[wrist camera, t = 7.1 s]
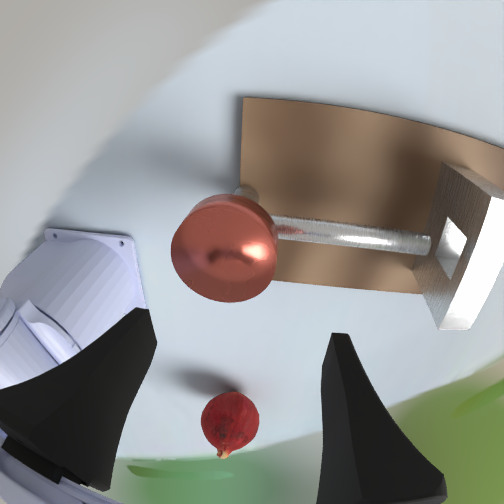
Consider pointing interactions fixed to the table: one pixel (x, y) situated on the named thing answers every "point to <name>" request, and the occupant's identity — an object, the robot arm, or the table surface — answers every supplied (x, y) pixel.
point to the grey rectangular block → (461, 246)
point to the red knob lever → (261, 243)
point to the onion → (229, 422)
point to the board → (350, 182)
